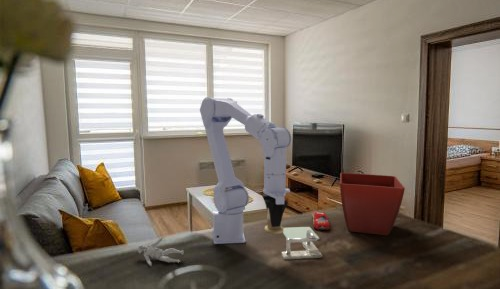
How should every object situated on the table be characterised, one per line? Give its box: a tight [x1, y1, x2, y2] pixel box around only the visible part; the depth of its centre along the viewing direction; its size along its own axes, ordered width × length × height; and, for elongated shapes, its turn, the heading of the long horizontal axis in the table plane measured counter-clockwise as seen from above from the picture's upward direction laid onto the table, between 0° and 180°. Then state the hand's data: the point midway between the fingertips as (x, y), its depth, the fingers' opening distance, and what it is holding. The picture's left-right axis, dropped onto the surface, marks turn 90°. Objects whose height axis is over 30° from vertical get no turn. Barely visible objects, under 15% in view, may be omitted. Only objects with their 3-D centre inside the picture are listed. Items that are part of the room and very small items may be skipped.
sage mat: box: [282, 226, 320, 241], centre depth 102 cm, size 10×10×1 cm
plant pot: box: [339, 172, 406, 236], centre depth 108 cm, size 19×19×17 cm
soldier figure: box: [137, 236, 185, 267], centre depth 83 cm, size 8×5×12 cm
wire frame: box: [281, 230, 323, 260], centre depth 89 cm, size 10×9×5 cm
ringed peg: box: [264, 209, 284, 235], centre depth 84 cm, size 5×5×6 cm
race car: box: [311, 211, 330, 231], centre depth 111 cm, size 13×5×4 cm, turn 172°
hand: (274, 223), depth 84 cm, fingers closed on ringed peg, 4 cm apart
